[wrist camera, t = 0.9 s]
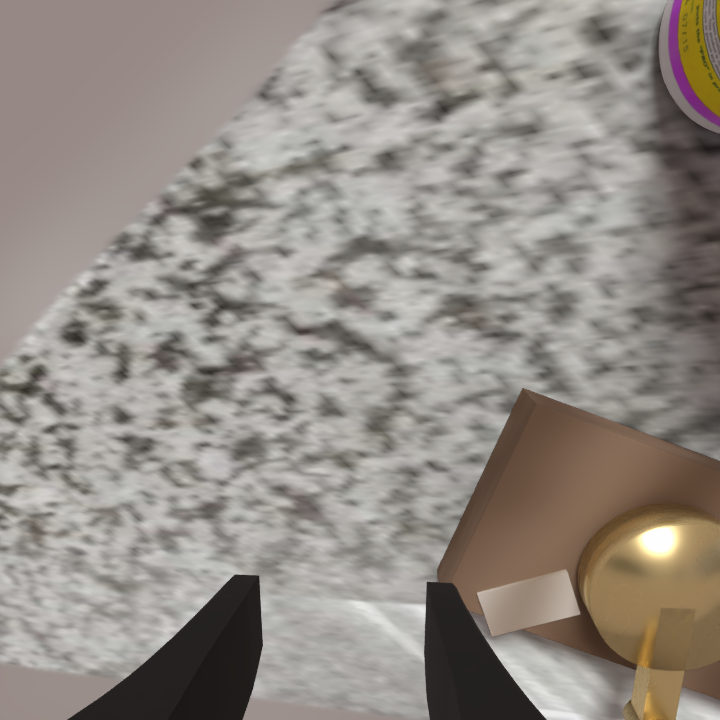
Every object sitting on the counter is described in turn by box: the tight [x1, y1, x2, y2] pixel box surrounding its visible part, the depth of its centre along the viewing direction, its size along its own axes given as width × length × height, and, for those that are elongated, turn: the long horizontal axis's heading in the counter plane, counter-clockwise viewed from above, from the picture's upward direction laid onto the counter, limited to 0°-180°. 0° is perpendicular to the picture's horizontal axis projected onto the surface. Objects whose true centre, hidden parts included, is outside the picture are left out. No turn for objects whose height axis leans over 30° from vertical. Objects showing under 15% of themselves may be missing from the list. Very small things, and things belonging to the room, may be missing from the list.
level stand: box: [437, 388, 720, 700], centre depth 20 cm, size 14×10×4 cm
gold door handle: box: [578, 503, 720, 720], centre depth 18 cm, size 10×6×4 cm, turn 0°
